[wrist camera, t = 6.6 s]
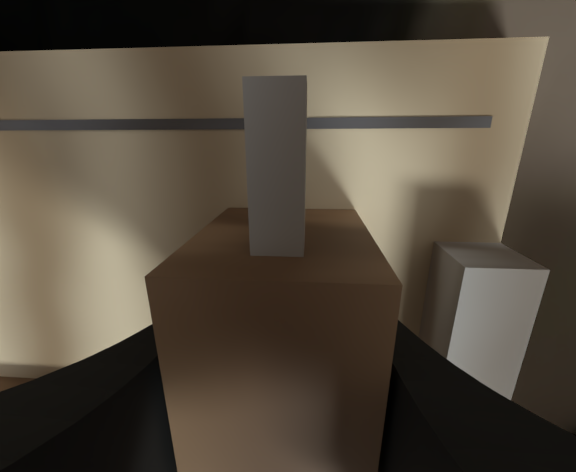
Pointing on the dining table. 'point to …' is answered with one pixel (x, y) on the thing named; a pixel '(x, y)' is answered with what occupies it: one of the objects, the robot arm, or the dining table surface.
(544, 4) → the dining table surface
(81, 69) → the birch board
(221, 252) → the tan block
